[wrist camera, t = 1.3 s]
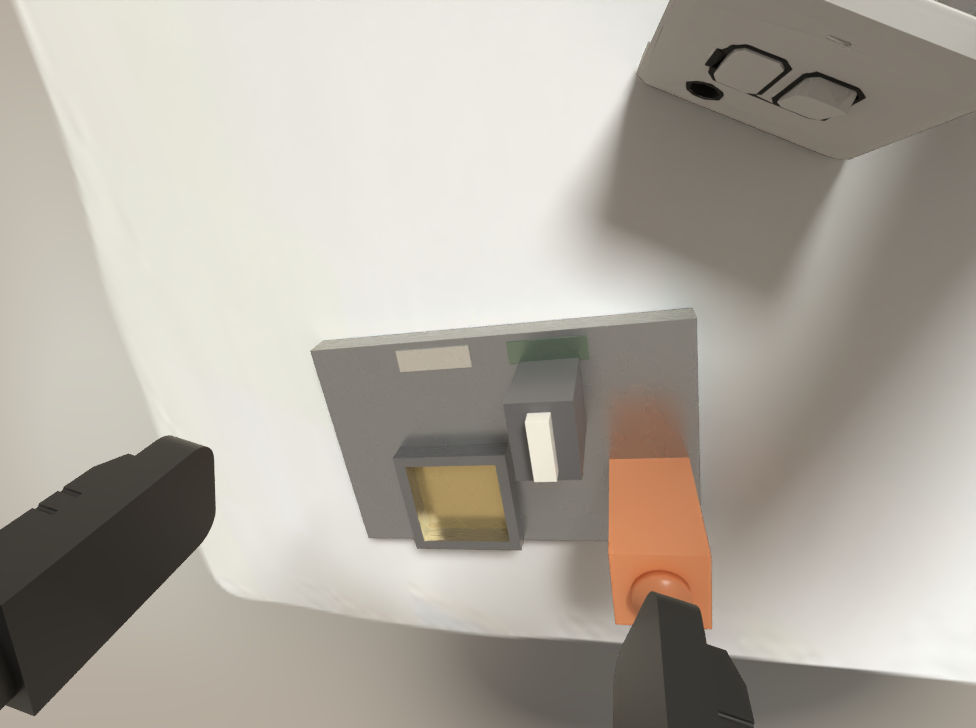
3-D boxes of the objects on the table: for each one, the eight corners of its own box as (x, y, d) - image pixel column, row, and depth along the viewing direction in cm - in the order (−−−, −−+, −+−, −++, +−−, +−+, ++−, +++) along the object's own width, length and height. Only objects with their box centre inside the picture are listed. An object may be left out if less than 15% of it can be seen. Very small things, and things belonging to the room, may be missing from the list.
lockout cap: (689, 457, 28) (713, 567, 21) (690, 520, 29) (714, 641, 23) (609, 459, 29) (608, 564, 22) (614, 519, 30) (615, 635, 24)
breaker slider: (578, 357, 27) (571, 409, 22) (586, 428, 28) (581, 490, 24) (518, 362, 28) (499, 413, 23) (529, 430, 29) (513, 491, 24)
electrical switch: (630, 79, 23) (658, 23, 14) (690, -62, 21) (764, -224, 12) (839, 163, 23) (996, 157, 14) (919, 29, 21) (1157, -75, 12)
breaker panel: (692, 307, 26) (700, 327, 24) (697, 523, 31) (704, 557, 29) (323, 340, 31) (299, 359, 29) (377, 522, 36) (360, 551, 34)
